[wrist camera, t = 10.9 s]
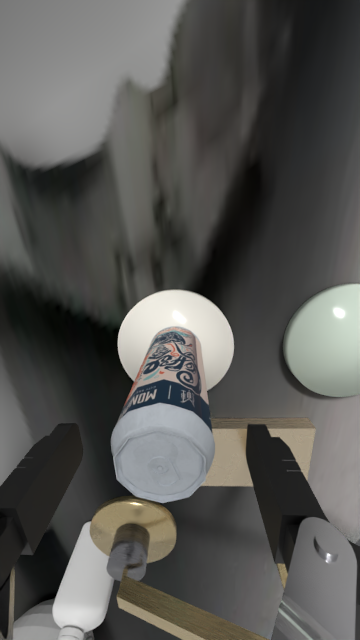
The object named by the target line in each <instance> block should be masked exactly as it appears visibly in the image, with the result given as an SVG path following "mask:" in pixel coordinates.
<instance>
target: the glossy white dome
mask: <svg viewBox="0 0 360 640" xmlns="http://www.w3.org/2000/svg"><path fill="white" fill-rule="evenodd" d="M172 326H179V327H183V328H186V329H188V330H190V331H192V332H193V333H194V334H195V335H196V336H197V338H198V339H199V341H200V343H201V350H202V359H203V366H204V373H205V381H206V388H207V390H209V389H211V388H212V387H213V386H215V385H216V384H217V383H218V382H219V381H220V380H221V379H222V378H223V376H224V375H225V374H226V372H227V370H228V369H229V366H230V364H231V361H232V357H233V352H234V340H233V334H232V331H231V328H230V325H229V323H228V321H227V319H226V318H225V316H224V315H223V313H222V312H221V310H220V309H219V308H218V307H217V306H216V305H215V304H214V303H213V302H211V301H210V300H209V299H207V298H206V297H204V296H202V295H200V294H198V293H195V292H192V291H188V290H182V289H169V290H163V291H159V292H156V293H153V294H151V295H149V296H147V297H145V298H144V299H143V300H141V301H140V302H139V303H137V304H136V305H135V306H134V307H133V308H132V309H131V310H130V312H129V313H128V314H127V316H126V317H125V319H124V321H123V322H122V325H121V328H120V331H119V335H118V352H119V357H120V360H121V363H122V365H123V367H124V369H125V371H126V372H127V374H128V375H129V376H130V377H131V379H132V380H133V381H135V379H136V377H137V374H138V372H139V370H140V367H141V365H142V363H143V360H144V358H145V355H146V353H147V351H148V348H149V346H150V344H151V341H152V339H153V338H154V336H155V335H156V334H157V333H158V332H159V331H160V330H162V329H165V328H167V327H172Z"/></svg>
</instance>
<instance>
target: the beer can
mask: <svg viewBox="0 0 360 640" xmlns="http://www.w3.org/2000/svg"><path fill="white" fill-rule="evenodd" d="M111 452H112V454H113V459H114V467H115V471H116V477H117V480H118V481H119V482H120V483H121V484H122V485H123V486H125V487H126V488H127V489H128V490H129V491H130V492H131V493H132V494H133V495H135V496H136V497H139V498H144V499H148V500H152V501H156V502H160V503H166V502H170V501H175V500H179V499H184V498H188V497H190V496H191V495H192V494H193V493H194V492H195V491H196V490H197V489H198V488H199V487H200V486H201V485H202V484H203V483H204V482H205V481H206V475H207V473H208V471H209V469H210V467H211V465H212V462H213V459H214V455H215V442H214V437H213V432H212V425H211V418H210V410H209V403H208V395H207V388H206V381H205V373H204V366H203V359H202V350H201V343H200V341H199V339H198V338H197V336H196V335H195V334H194V333H193V332H192V331H190V330H188V329H186V328H183V327H179V326H172V327H167V328H165V329H162V330H160V331H159V332H158V333H157V334H156V335H155V336H154V338H153V339H152V341H151V344H150V346H149V348H148V351H147V353H146V355H145V358H144V360H143V363H142V365H141V367H140V370H139V372H138V374H137V377H136V379H135V381H134V384H133V386H132V388H131V391H130V393H129V395H128V398H127V400H126V402H125V405H124V407H123V410H122V412H121V414H120V417H119V419H118V421H117V424H116V426H115V428H114V430H113V433H112V437H111Z"/></svg>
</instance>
